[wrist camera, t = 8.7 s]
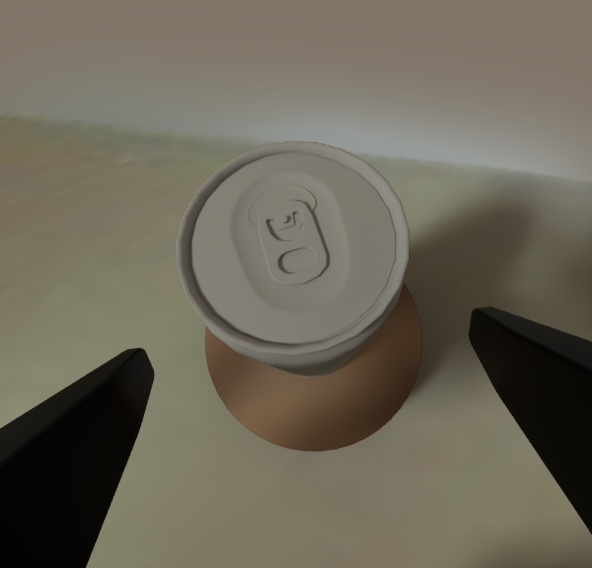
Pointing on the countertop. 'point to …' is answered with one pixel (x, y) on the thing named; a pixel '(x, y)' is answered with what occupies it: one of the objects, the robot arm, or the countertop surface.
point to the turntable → (323, 387)
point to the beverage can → (294, 255)
